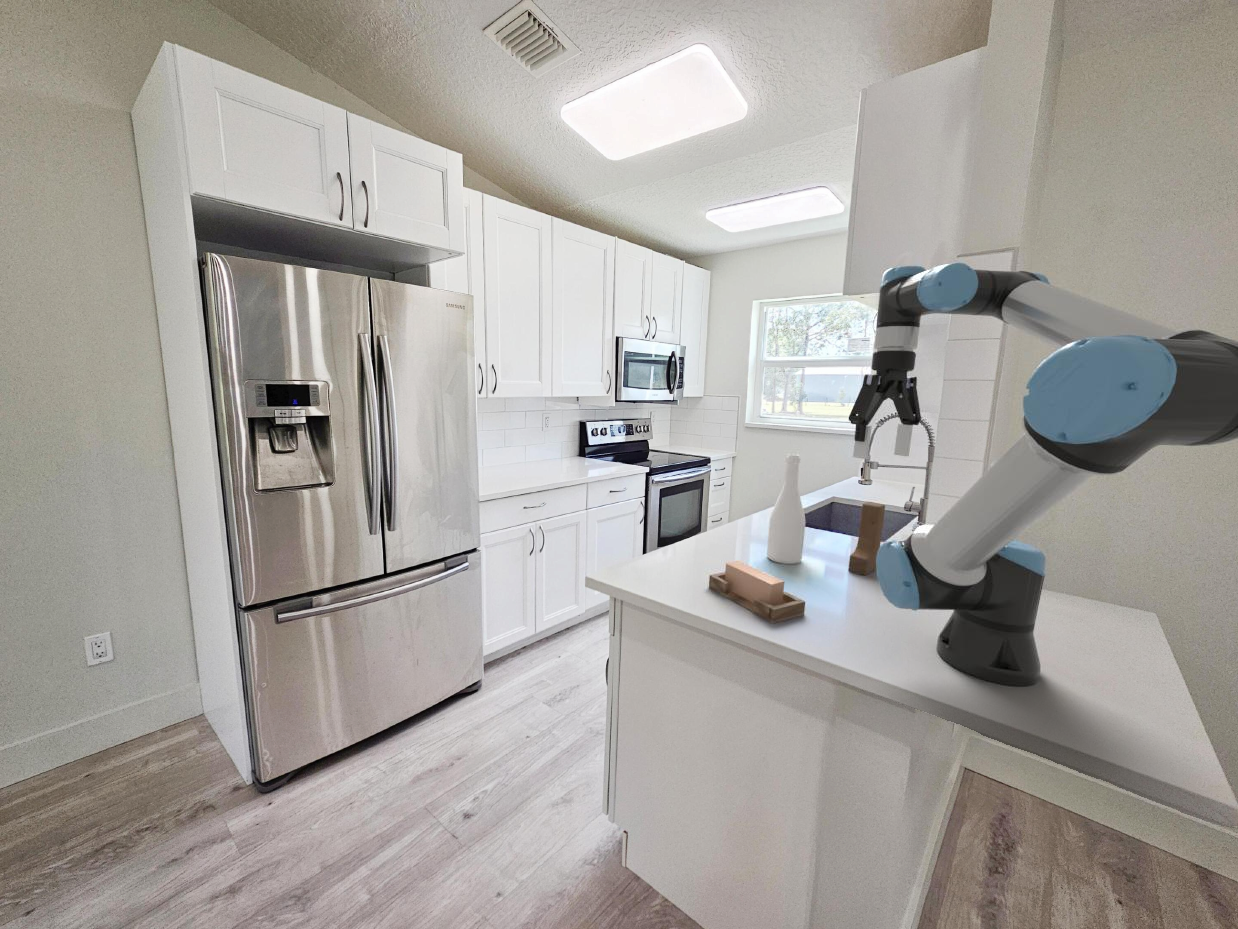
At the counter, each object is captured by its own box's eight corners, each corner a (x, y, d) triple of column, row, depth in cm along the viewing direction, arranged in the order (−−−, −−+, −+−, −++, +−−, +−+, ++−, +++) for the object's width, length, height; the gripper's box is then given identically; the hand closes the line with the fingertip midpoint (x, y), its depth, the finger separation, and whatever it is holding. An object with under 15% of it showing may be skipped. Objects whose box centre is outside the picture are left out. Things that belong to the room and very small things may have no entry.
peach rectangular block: (782, 607, 110) (784, 581, 109) (769, 611, 108) (771, 584, 107) (736, 584, 122) (738, 560, 121) (724, 587, 119) (725, 563, 119)
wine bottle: (804, 566, 137) (815, 458, 132) (768, 563, 138) (778, 456, 134) (797, 555, 146) (808, 453, 141) (764, 552, 148) (773, 451, 143)
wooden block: (864, 576, 132) (873, 509, 129) (847, 571, 135) (855, 506, 132) (877, 568, 138) (885, 504, 135) (860, 563, 141) (868, 501, 138)
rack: (804, 614, 108) (805, 601, 107) (772, 623, 103) (773, 609, 103) (738, 580, 125) (739, 569, 125) (708, 587, 121) (709, 575, 120)
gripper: (912, 354, 109) (900, 452, 112) (836, 347, 96) (825, 456, 100) (949, 353, 102) (934, 456, 105) (872, 345, 90) (859, 462, 93)
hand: (881, 456), depth 103 cm, fingers open, 13 cm apart
